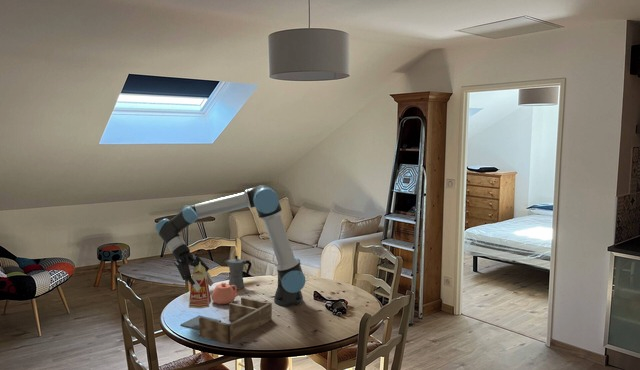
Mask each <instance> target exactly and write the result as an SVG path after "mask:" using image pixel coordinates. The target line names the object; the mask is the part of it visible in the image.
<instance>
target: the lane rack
mask: <svg viewBox="0 0 640 370" xmlns="http://www.w3.org/2000/svg"><path fill="white" fill-rule="evenodd" d="M272 307H273V304H272V302H268V301H263V300H259V299H254V298H249V297H244V296H242V297H240V304H239V303H238V304H237V303H233V302H231V303H228V320H229V321H232V322H231V323H226V322H223V321H221V322H219V321H214V320H210V319H206V318H202V317H201V318H199V330H198V336H199V337H201V338H205V339H209V340H211V341H212V340H213V341H217V342H221V343H224V344H229V345H231V344H233V343H235V342H236V341H238V340H240V339H241V338H243V337H245V336H246V335H248V334H249V333H251V332H253V331H254V330H256V329H258V328H260V327H261V326H263V325H264V324H266V323H268V322H269V321H271V320H272V317H273V316H272V315H273V314H272V313H273V312H272V311H273V308H272Z"/></svg>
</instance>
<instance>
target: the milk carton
mask: <svg viewBox="0 0 640 370" xmlns="http://www.w3.org/2000/svg"><path fill="white" fill-rule="evenodd" d="M192 269H193V270H192V273H191V278H192V277H194V278H195V280H196V281H197V283H198V284H199V285H200V287H201V289H200V290H199V291H198V292H197V291H196V290H195V289H194V287H193V286H192V285H191V284H190V289H189V291H190V292H189V297H188V298H189V300H188V308H189V309H206V308H210V304H211V302H213V300H212V298H211V297H212V296H211V293H210V285H209V284H208V278H207V274H206V270H205V267H204V266H202V265H201V262H199V265H198V266H196V267H194V266H193V268H192Z"/></svg>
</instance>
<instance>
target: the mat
mask: <svg viewBox="0 0 640 370" xmlns="http://www.w3.org/2000/svg"><path fill="white" fill-rule="evenodd" d="M201 317H202V318H206V319H210V320H214V321H219V322H222V320H220V319H217V318H212V317H209V316H203V315H200V314H199V315H197V316H195V317H193V318H191V319H189V320H187V321H185V322H183V323H180V326H181V327H186V328H189V329H192V330H197V331H199V318H201Z"/></svg>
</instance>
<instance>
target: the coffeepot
mask: <svg viewBox="0 0 640 370" xmlns="http://www.w3.org/2000/svg"><path fill="white" fill-rule="evenodd" d="M238 257H239V256H238V255H234V258H232V259H226V260H224V263H226V265H227V267H228V268H229V269H228V270H229V273H230V274H229V280H228V284H229V285H230V286H231V285H235V286H236V287H237V290H239V289H242V288H244V287H245V284H244V283H245V282H244V277H243V272H244V266H245V264H246V265H247V269H246V272H244V275H246V276H247V275H249V273H250V271H251V268H252V262H251V261H250V260H245V259H242V258H238ZM232 288H233V290H235V287H232Z"/></svg>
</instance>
